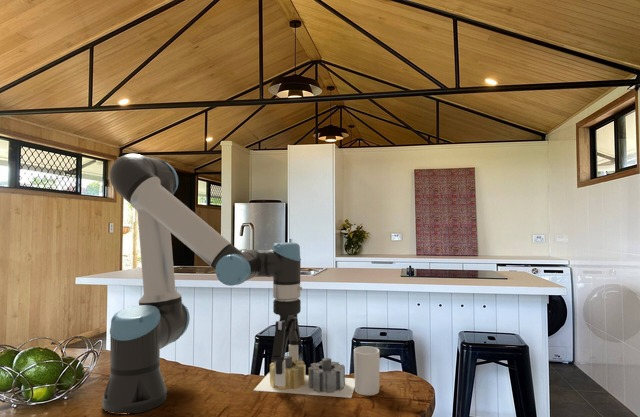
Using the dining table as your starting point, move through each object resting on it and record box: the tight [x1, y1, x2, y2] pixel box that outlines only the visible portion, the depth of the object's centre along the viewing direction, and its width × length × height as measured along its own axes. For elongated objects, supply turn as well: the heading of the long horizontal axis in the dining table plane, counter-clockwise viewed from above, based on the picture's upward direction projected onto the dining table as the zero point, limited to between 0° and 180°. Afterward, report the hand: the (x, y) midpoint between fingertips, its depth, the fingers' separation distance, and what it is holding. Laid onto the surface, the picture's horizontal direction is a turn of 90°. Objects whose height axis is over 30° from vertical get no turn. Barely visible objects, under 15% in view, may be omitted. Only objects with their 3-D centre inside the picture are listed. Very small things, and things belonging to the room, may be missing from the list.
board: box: [253, 355, 355, 399], centre depth 117 cm, size 26×13×8 cm, turn 79°
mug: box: [353, 345, 381, 396], centre depth 115 cm, size 10×7×12 cm, turn 166°
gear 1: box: [269, 359, 307, 390], centre depth 118 cm, size 10×10×5 cm
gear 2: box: [307, 360, 346, 393], centre depth 116 cm, size 10×10×5 cm
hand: (287, 376), depth 118 cm, fingers open, 13 cm apart
